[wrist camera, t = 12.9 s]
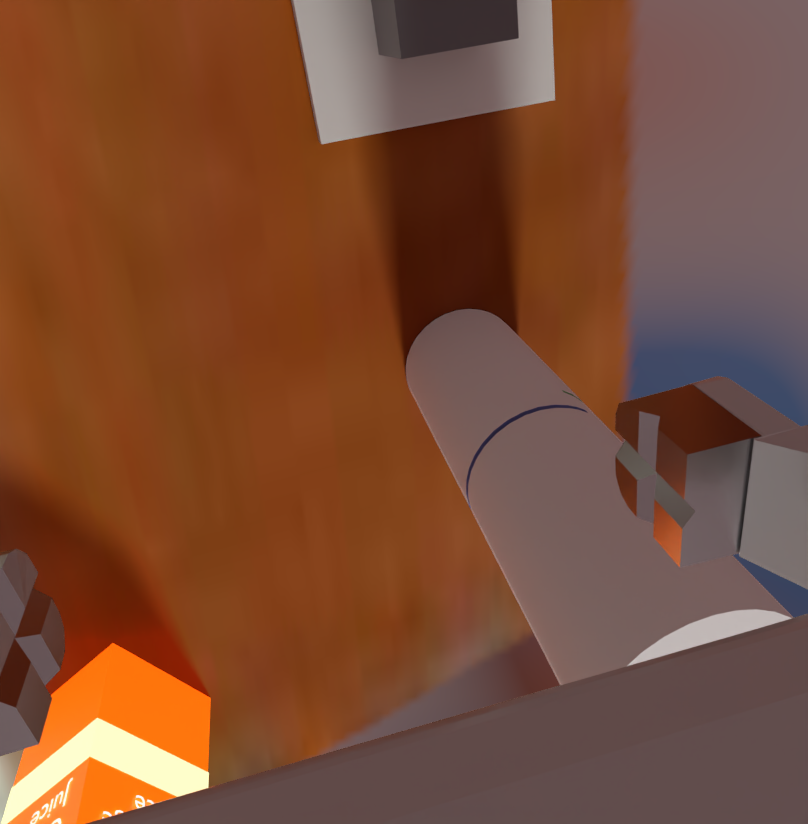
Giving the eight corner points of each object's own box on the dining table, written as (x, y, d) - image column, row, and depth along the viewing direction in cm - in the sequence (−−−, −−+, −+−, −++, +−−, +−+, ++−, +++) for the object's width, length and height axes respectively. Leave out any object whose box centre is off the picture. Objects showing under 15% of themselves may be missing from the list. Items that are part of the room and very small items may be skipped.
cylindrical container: (421, 299, 40) (646, 605, 18) (533, 318, 42) (855, 613, 20) (393, 410, 43) (558, 786, 21) (499, 422, 45) (748, 776, 23)
